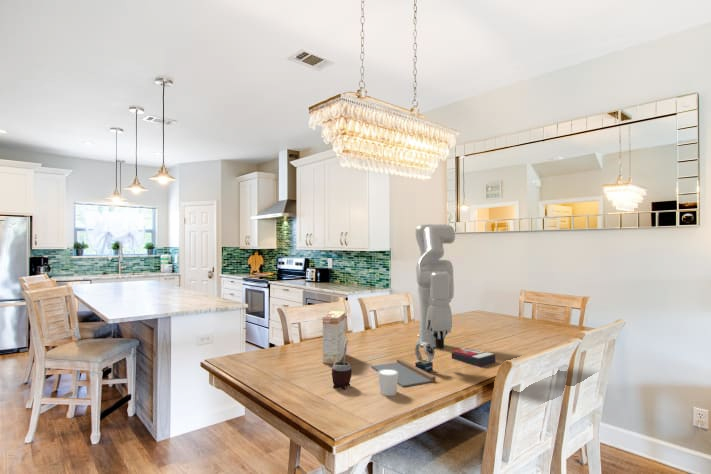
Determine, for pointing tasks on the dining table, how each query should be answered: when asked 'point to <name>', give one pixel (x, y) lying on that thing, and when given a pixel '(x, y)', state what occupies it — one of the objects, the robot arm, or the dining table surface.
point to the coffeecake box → (333, 336)
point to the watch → (429, 352)
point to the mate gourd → (341, 373)
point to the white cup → (388, 381)
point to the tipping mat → (407, 373)
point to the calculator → (474, 357)
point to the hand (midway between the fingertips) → (439, 347)
